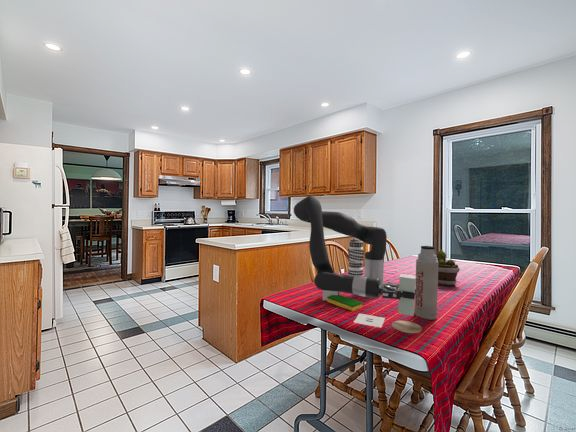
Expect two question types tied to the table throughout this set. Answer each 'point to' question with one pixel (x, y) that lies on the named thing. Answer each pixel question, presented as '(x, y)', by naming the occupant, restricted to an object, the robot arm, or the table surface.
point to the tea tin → (407, 285)
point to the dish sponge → (344, 302)
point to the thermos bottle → (426, 283)
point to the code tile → (369, 320)
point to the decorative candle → (355, 257)
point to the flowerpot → (446, 270)
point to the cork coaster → (406, 326)
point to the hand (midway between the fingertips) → (414, 293)
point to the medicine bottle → (329, 293)
